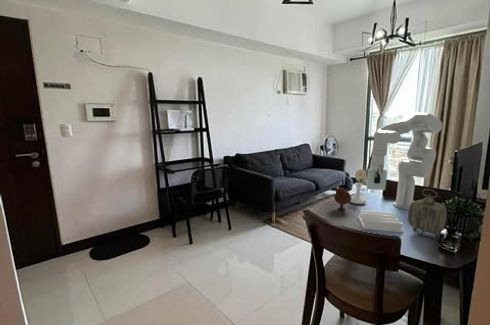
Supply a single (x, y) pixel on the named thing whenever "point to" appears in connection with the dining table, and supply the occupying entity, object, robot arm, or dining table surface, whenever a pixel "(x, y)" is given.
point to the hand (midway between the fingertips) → (376, 182)
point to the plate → (371, 180)
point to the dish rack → (379, 221)
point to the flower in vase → (357, 197)
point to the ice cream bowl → (342, 198)
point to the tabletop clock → (427, 215)
